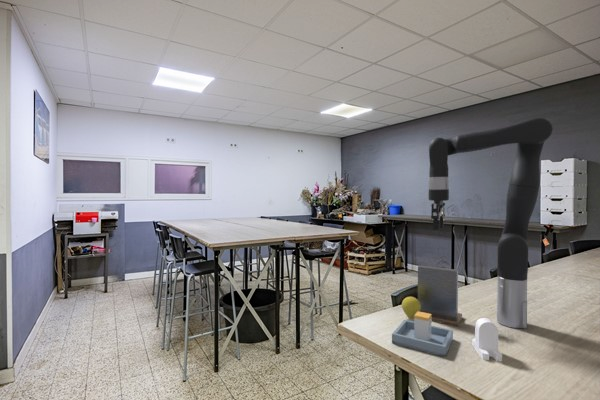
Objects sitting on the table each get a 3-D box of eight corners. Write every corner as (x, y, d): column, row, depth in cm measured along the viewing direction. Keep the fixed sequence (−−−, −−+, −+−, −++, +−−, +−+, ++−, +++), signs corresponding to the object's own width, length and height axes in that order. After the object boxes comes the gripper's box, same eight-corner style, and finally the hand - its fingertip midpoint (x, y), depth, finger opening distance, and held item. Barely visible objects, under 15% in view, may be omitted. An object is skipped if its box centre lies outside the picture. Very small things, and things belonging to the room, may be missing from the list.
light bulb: (398, 320, 123) (398, 294, 123) (415, 319, 123) (415, 294, 123) (405, 327, 116) (406, 300, 116) (423, 327, 117) (424, 299, 116)
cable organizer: (489, 345, 103) (490, 314, 102) (502, 361, 93) (503, 327, 93) (471, 344, 104) (472, 313, 104) (482, 360, 94) (483, 326, 94)
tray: (452, 339, 107) (452, 330, 107) (445, 357, 96) (445, 347, 96) (404, 327, 116) (404, 319, 116) (391, 343, 105) (391, 333, 105)
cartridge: (431, 337, 106) (431, 313, 106) (428, 343, 103) (428, 318, 103) (417, 334, 109) (417, 311, 109) (414, 339, 105) (414, 315, 105)
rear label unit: (462, 317, 125) (462, 267, 125) (458, 326, 117) (458, 273, 117) (419, 309, 134) (420, 262, 134) (413, 317, 126) (413, 267, 126)
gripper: (445, 188, 121) (445, 231, 122) (451, 188, 133) (451, 227, 133) (424, 188, 125) (424, 230, 126) (432, 188, 137) (432, 226, 138)
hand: (438, 228), depth 130 cm, fingers open, 8 cm apart
